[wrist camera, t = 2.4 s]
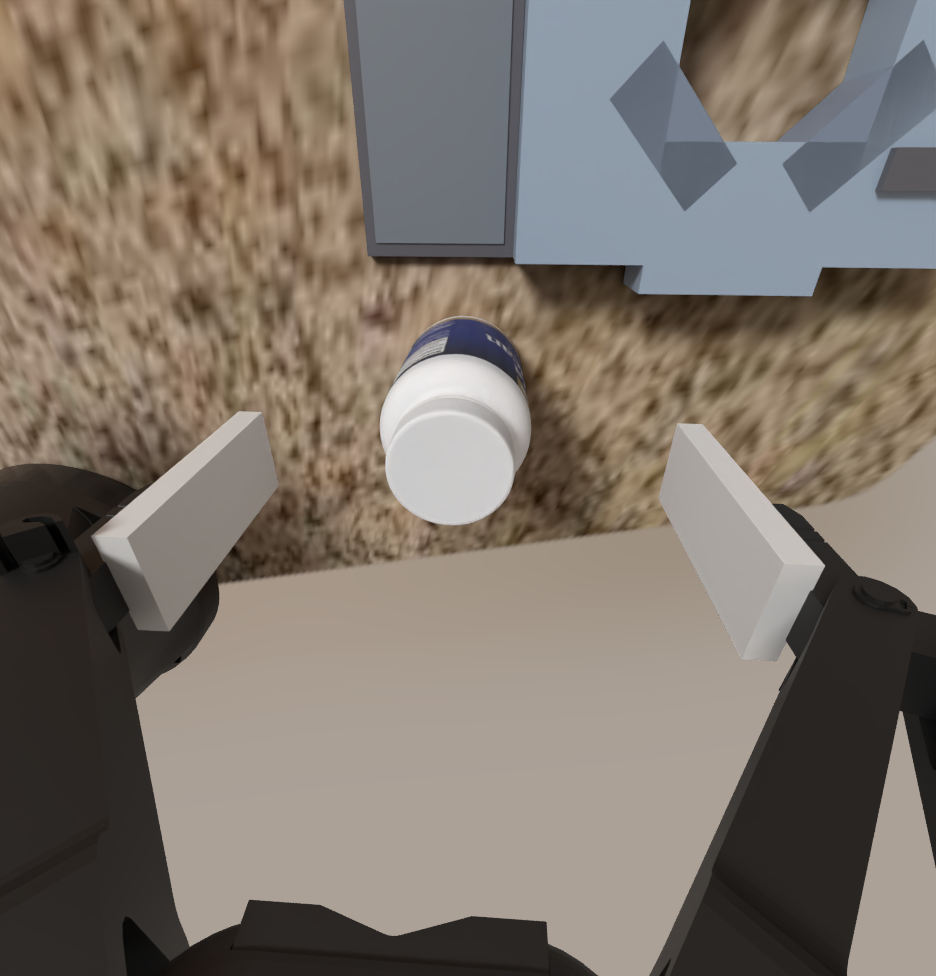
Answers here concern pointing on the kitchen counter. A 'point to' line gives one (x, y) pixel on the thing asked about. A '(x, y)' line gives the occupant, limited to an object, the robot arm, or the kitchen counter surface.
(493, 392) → the pill bottle
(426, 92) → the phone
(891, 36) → the dock
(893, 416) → the kitchen counter surface
